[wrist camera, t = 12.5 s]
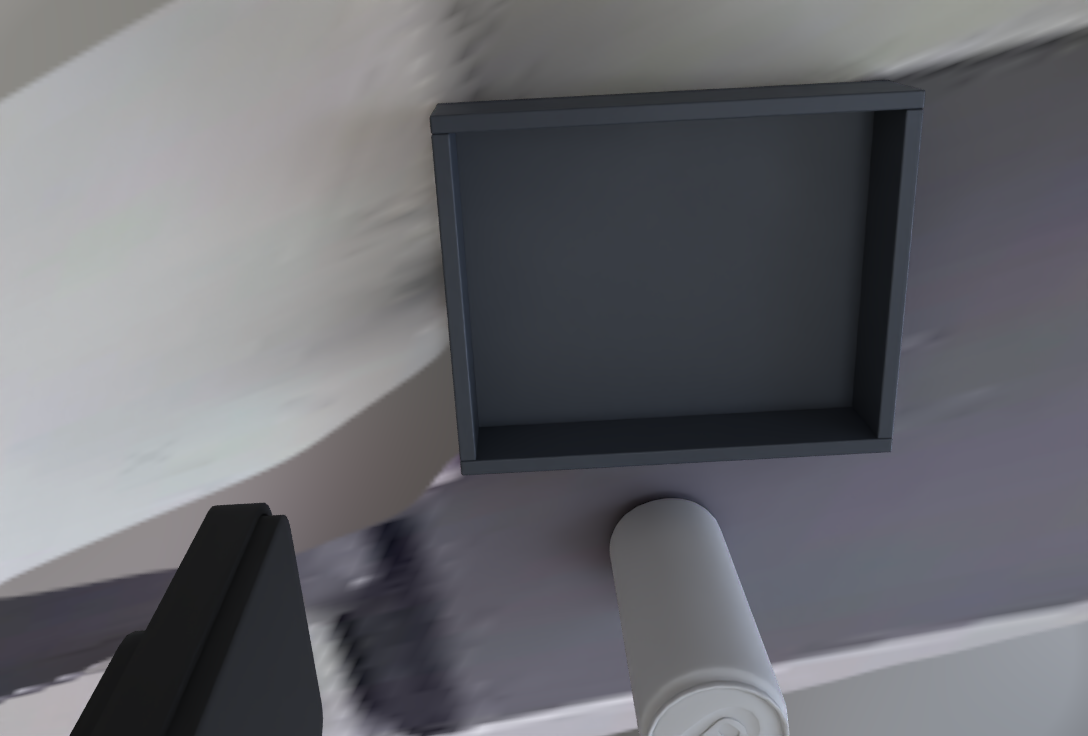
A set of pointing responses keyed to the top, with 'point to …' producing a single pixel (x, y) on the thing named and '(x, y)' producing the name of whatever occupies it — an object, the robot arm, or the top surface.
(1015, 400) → the top surface
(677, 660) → the beverage can
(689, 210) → the desk tray
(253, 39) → the top surface
